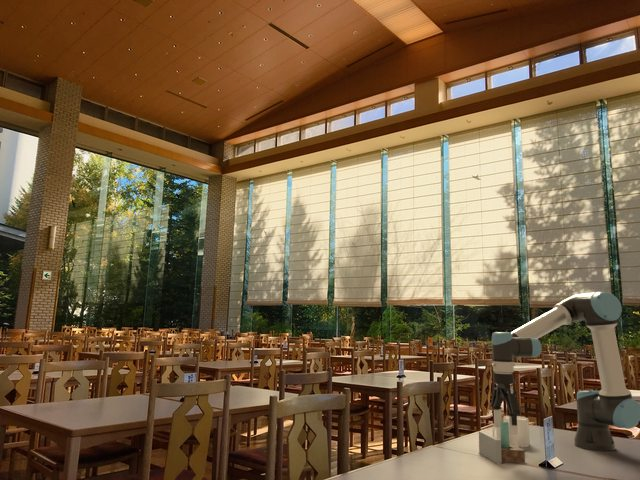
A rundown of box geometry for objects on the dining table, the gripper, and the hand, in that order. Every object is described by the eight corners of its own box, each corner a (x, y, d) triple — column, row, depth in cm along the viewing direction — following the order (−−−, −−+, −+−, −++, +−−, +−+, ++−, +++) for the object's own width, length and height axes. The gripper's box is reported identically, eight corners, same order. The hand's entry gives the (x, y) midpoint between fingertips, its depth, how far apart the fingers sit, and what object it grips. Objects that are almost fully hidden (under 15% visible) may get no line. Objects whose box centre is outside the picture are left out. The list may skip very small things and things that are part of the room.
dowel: (507, 457, 193) (506, 421, 195) (511, 459, 190) (510, 422, 192) (499, 457, 192) (499, 421, 195) (503, 459, 190) (502, 422, 192)
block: (512, 455, 196) (512, 444, 197) (525, 461, 187) (524, 450, 187) (487, 454, 196) (487, 443, 196) (498, 461, 186) (498, 449, 187)
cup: (507, 452, 200) (507, 425, 202) (485, 446, 211) (485, 420, 213) (523, 451, 204) (522, 424, 205) (500, 444, 214) (500, 419, 216)
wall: (484, 452, 199) (483, 431, 200) (501, 463, 183) (501, 440, 184) (479, 452, 198) (478, 431, 200) (496, 463, 183) (495, 440, 184)
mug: (501, 439, 226) (500, 413, 228) (525, 440, 224) (524, 415, 226) (506, 445, 213) (505, 419, 215) (532, 447, 211) (531, 420, 213)
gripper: (481, 369, 208) (483, 424, 205) (508, 375, 184) (510, 437, 180) (499, 370, 209) (501, 424, 205) (528, 376, 184) (531, 437, 181)
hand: (505, 430), depth 193 cm, fingers open, 13 cm apart
